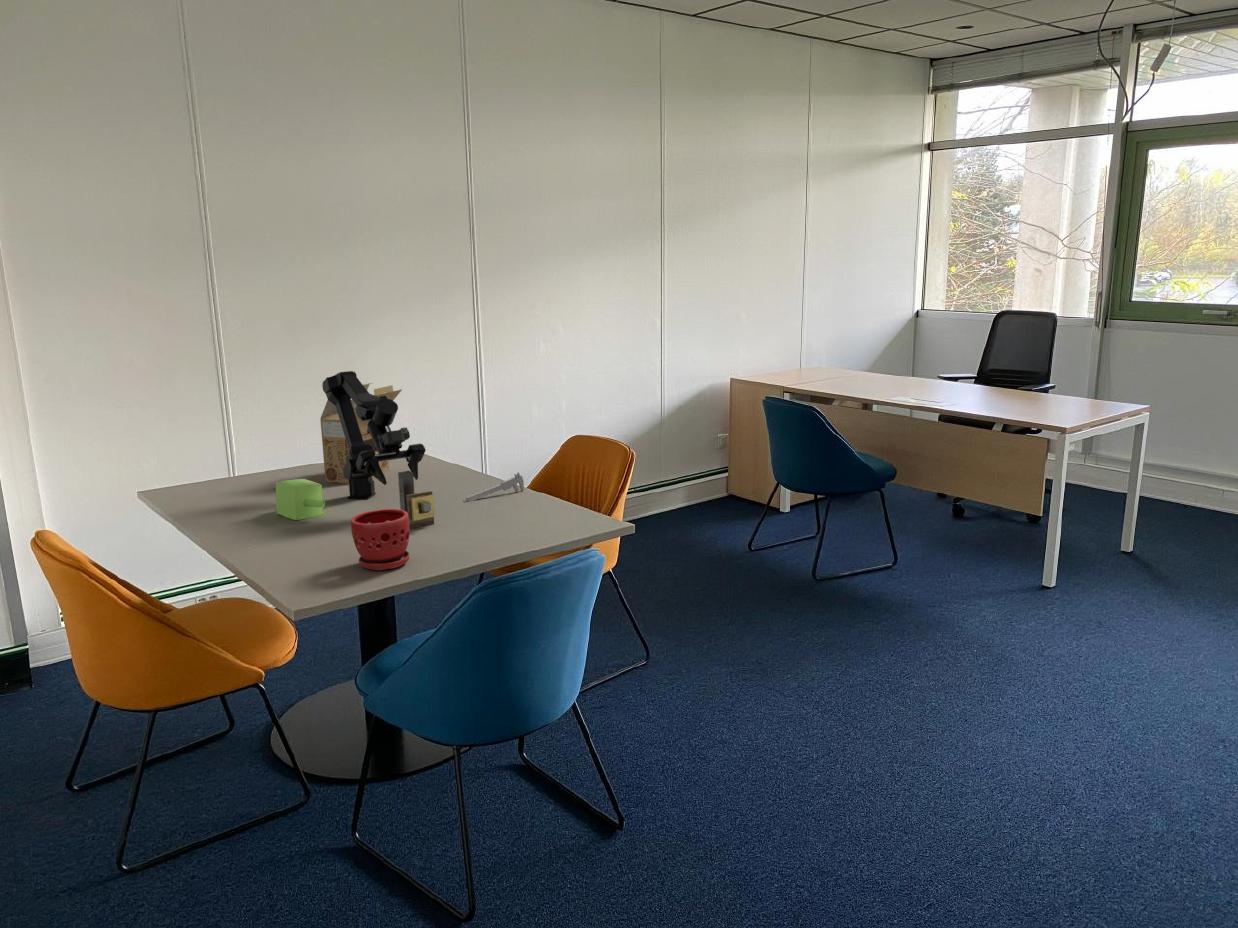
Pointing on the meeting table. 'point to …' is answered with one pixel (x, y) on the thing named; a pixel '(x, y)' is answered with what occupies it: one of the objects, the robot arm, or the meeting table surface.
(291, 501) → the gearbox
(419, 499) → the frame
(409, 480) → the steel shaft
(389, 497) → the meeting table surface
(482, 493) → the caliper
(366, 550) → the plant pot
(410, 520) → the plate
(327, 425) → the box
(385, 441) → the robot arm
